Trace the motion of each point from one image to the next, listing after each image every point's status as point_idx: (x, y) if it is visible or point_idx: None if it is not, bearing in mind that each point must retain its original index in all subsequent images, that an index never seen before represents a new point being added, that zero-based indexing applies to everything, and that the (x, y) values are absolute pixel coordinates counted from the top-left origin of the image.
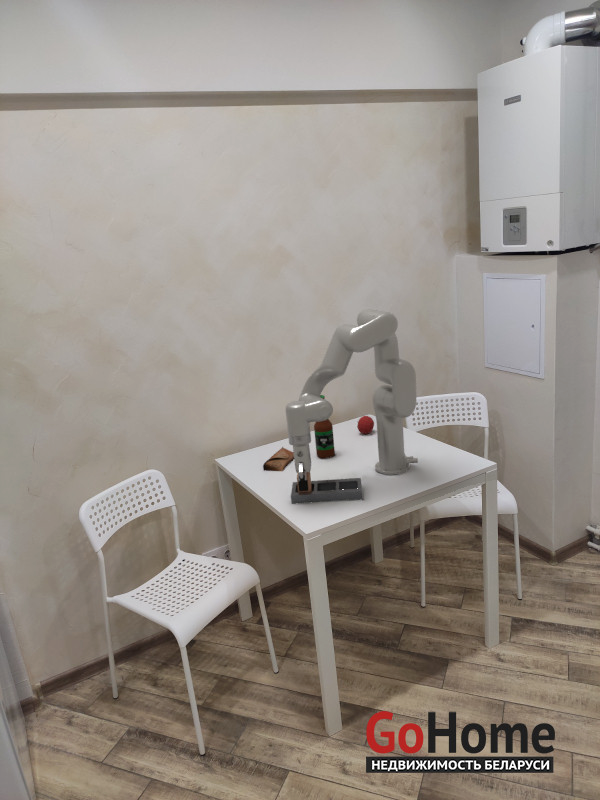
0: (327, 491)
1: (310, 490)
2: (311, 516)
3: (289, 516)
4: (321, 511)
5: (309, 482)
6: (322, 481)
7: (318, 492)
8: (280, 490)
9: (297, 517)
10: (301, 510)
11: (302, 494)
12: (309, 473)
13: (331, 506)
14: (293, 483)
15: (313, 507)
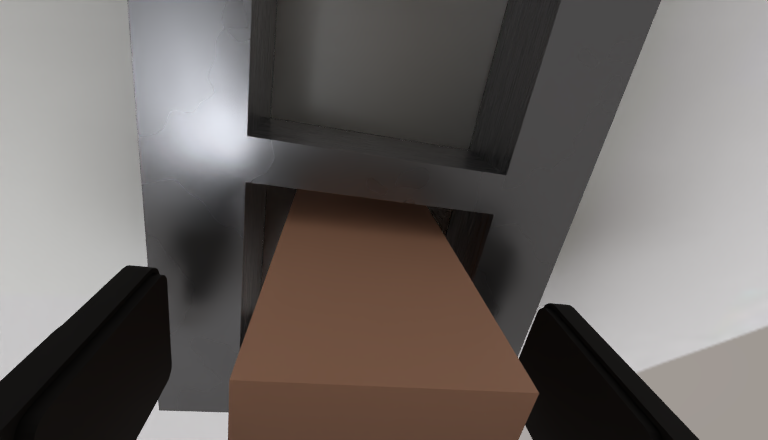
0: (584, 26)
1: (445, 247)
2: (738, 236)
3: (641, 369)
4: (716, 148)
5: (486, 319)
6: (188, 42)
7: (551, 161)
8: (189, 428)
9: (686, 325)
10: (604, 298)
11: (514, 331)
12: (343, 394)
13: (686, 30)
14: (198, 404)
15: (607, 207)
